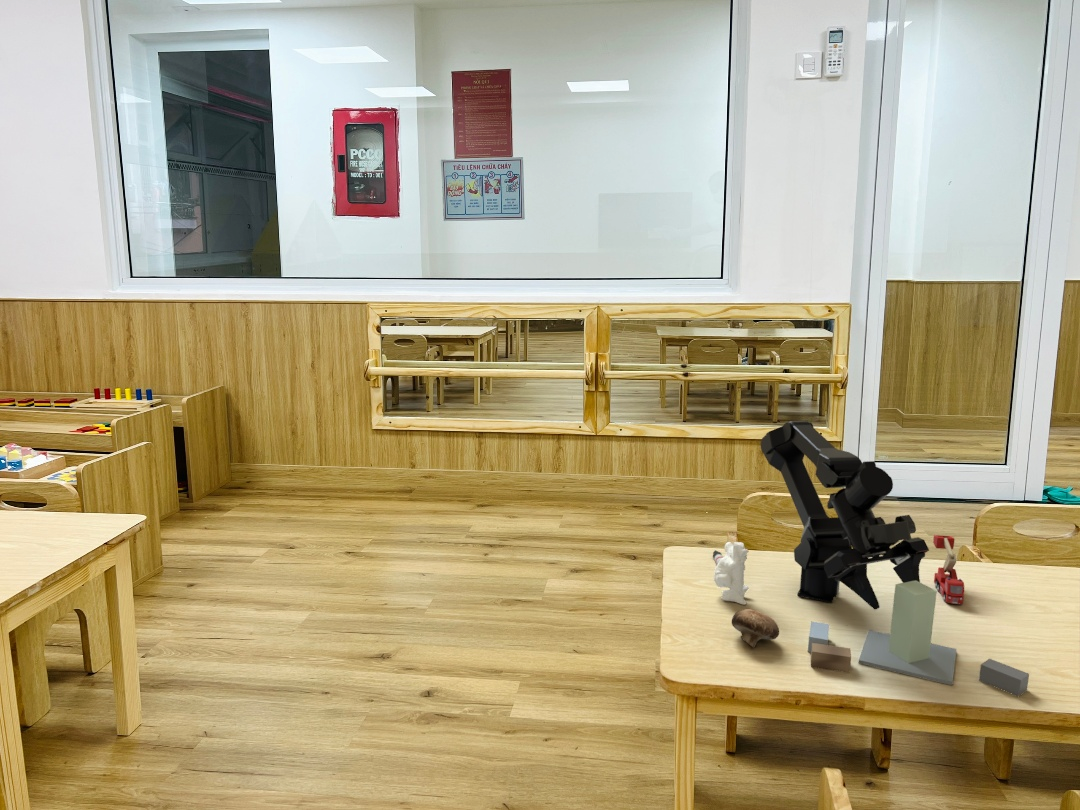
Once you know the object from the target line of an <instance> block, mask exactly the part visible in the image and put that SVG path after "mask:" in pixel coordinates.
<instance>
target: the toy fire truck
mask: <svg viewBox="0 0 1080 810" xmlns="http://www.w3.org/2000/svg"><path fill="white" fill-rule="evenodd" d="M932 540H933V541H932V543H933V545H934V547H935V548H936V549H942V550H946V552H947V555H946V557H945V562H944V563H943V567H937V572H935V573H934V575H933V576H934V577H933V583H934V588H935V589H936V591H937V592H939V593H940V594H941V595H940V596H941V597H942V600H943V602H945V603H948V604H953V605H963V604H964V598H965V597H964V595H965V582H964V580H962V579H961V578H959V579H958V574H957V570H956V569H955V568H954V567H955V565H956V564H957V557H956V556H957V555H956V553H954V552H953V550H954V545H955V538H954V537H953V536H951V535H939V534H934V535H933V539H932ZM948 573H949V574H948Z"/></svg>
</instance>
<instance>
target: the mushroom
mask: <svg viewBox="0 0 1080 810" xmlns="http://www.w3.org/2000/svg"><path fill="white" fill-rule="evenodd" d="M731 625H732V627H733V629H735V630H736V631H738V632H740V634H741V636H740V638H741V639H742V640H743V641H744V642H746V644H748V645H749V646H751V647H752V648H753V649H754V648H755V647H756V644H757V643H758V641H760V640H770V641H771V640H776V639H777V638H778V637H779V635H780V628H779V626H778V625H779V624H777V622H776V621H775V620H774V619H773V618H772V617H771V616H769V615H767V614H765V613H763V612H760V611H758V610H755V609H751V608H748V609H741V610H739V611H736V612H735V613H734V614H733V616H732V619H731Z"/></svg>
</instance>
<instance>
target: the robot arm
mask: <svg viewBox="0 0 1080 810" xmlns="http://www.w3.org/2000/svg"><path fill="white" fill-rule="evenodd" d="M760 450H761V453H762V454H763V455H764V457H765V460H766V461H767V463H768V464H769V465H770V466H771V467H773V468H774V469H775V470H777V471H779V472H780V473H781V476H782V478H783V481H784V483H785V485H786V488H787V490H788V492H789V496H790V497H791V500H792V502H793V505H794V507H795V509H796V512H797V515H798V516H799V518H800V521H801V523H802V525H803V530H802V534H801V537H800V542H799V544H798V545H797V546H796V547H795V548H794V550H793V557H794V561H795V562H796V563H797V564H798V565H799V566H800V567H801V572H800V582H799V583H800V584H799V590H798V592H797V597H801V598H805V599H810V600H815V601H820V602H825V603H833V602H834V599H835V598H836V597H837V596H838V595H839V592H840V583H842V584H843V585H845V586H846V587H847V588H849V589H850V590H851V591H852V592H854V593H855V595H857V596H858V597H860V599H862V600H863V601H864V602H865V603H866V604H867V605H869V606H870V607H871V608H872V609H873V610H874V611H875V610H878V609H879V608H880V603H879V601H878V598H877V595H876V594H875V591H874V589H873V587H872V584H871V582H870V580H869V577H868V575H867V574H868V565H869V564H874V563H879V562H885V561H889V562H890V563H892V564H894V565H895V566H894V567H893V568H892V569H893V571H894V572H895V574H896V575H897V576H898V577H899V579H900V581H901V583H905V582H910V581H915V580H916V581H918V582H920V583H921V579H920V564H921V562H922V559H924V558H925V557H926V553H927V552H929V551H930V548H929V547H928V544H927V543H926V541H925V539H923V538H921V537H919V536H918V537H913V538H912V535H911V534H915V533H916V531H917V529H916V524H915V522H914V520H913V518H912V517H911V515H910V514H906V515H899V516H896V517H895V519H894V522H888V523H886V521H885V520H884V518H883V517H882V516H877V517H876V516H875V513H874V512H873V510H872V509H874V508H875V507H876V506H878V504H879V503H881V502H882V501H883V500H884V499H885V498H886V497H887V496H888V495H889V494H890V493H891V492H892V491H893V488H894V482H893V479H892V477H891V476H890V475H889V474H888V472H886V470H884V469H882V468H880V467H878V466H877V465H876V462H875V460H872V461H871V460H869V461H868V460H867V461H863V462H862V459H860V458H859V457H858V456H857V455H855V454H853V453H852V452H849V451H845V450H841V449H838V448H836V447H835V446H834V445H833V444H831V442H829V441H828V440H827V438H825V437H824V436H823V435H822V434H821V433H819V431H818V430H816V428H815V427H814V425H813V423H812V422H811V421H808V420H789V421H788V422H784V424H783V425H782V426H779V427H777V428H774V429H772V430H770V431H768V432H767V433H766V434H765V435H764V436H763V437H762V438H761V441H760ZM805 456H806V458H807V459H809V461H810V462H811V463H812V464H813V465H814V466H815V474H814V475H815V476H816V478H817V479H818V481H819V482H820V484H821V485H822V486H823V487H824V488H826V489H835V488H837V489H838V488H840V489H839V490H838V491H837V492H833V493H830V494H829V497H828V498H829V499H828V501H827V505H826V506H827V509H828V510H830V509H831V510H832V509H834V511H835V514H836V515H837V517H830V516H829V515H828V514H827V512H826V510H825V507H824V505H823V504H822V501H821V498H820V496H819V494H818V492H817V489H816V487H815V485H814V482H813V481H812V479H811V476H810V473H809V472H808V469H807V468H806V465H805V463H804V458H805ZM891 546H892V547H891Z"/></svg>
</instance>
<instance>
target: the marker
mask: <svg viewBox="0 0 1080 810" xmlns="http://www.w3.org/2000/svg"><path fill="white" fill-rule="evenodd" d="M712 553H713V554H712V557H713V560H714V563H715V564H716V565H717V564H718V563H719V561H720V559H721V558H723V557H724V556H723V555H722V552H720V551H717V550H715V549H714V551H713V552H712Z"/></svg>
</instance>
